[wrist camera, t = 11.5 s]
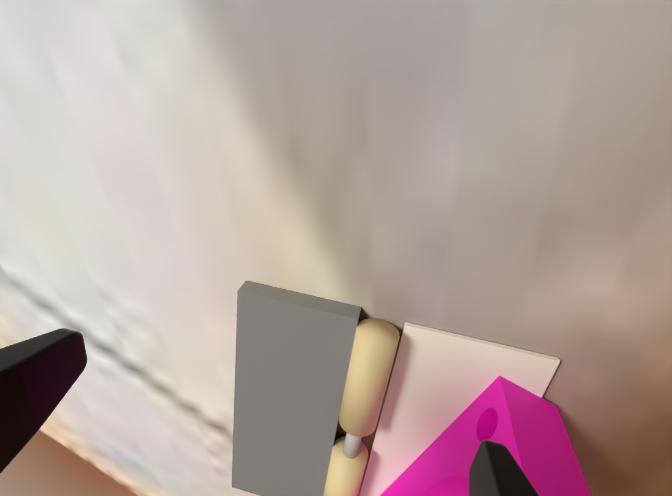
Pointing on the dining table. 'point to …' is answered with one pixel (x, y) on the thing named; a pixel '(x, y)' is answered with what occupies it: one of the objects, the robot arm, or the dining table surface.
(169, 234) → the dining table surface
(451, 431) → the toy block
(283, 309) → the hinge leaf
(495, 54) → the dining table surface
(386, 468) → the leaf pad
